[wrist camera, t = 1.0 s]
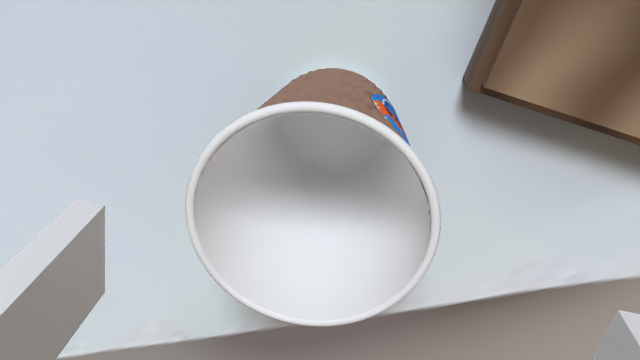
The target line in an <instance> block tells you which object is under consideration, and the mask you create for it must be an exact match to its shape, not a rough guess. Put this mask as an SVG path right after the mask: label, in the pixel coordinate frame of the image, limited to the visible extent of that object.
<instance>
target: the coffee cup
mask: <svg viewBox="0 0 640 360" xmlns="http://www.w3.org/2000/svg"><path fill="white" fill-rule="evenodd" d="M384 95H385V94H384ZM384 95H383V92H382V91H381V90H380V89H379V88H377V87H376V85H375V84H374V83H372V82H371V81H369V80H368V79H367V78H365V77H364V76H362V75H360V74H357V73H355V72H353V71H349V70H345V69H340V68H326V69H318V70H316V71H313V72H312V71H310V72H308V73H307V74H304V75H300V76H299V77H298V78H296V79H294V80H292V81H291V82H290V83H289V84H287V85H286V86H285V87H284V88H282V89H281V90H280V91H279V92H278V93H277V94H275V95H274V96H273V97H271V98H270V99H269V100H268V101H267V102H265V103H264V104H263V105H262V106H261V107H259V108H258V109H257V110H255V111H253V112H250V113H248V114H246V115H244V116H242V117H240V118H238V119H237V120H235V121H234V122H232V123H231V124H229V125H228V126H226V127H225V128H224V129H223V130H221V131H220V132H219V133H218V134H217V135H216V136H215V137H214V138H213V139H212V140H211V141H210V142H209V143H208V145H207V146H206V147H205V149H204V150H203V151H202V153H201V154H200V156H199V158H198V160H197V161H196V163H195V165H194V168H193V170H192V173H191V175H190V179H189V182H188V186H187V192H186V203H185V210H186V221H187V227H188V231H189V235H190V239H191V241H192V244H193V247H194V249H195V251H196V253H197V255H198V257H199V259H200V261H201V263H202V264H203V266H204V267H205V269H206V270H207V272H208V273H209V274H210V275H211V277H212V278H213V279H214V280H215V281H216V282H217V283H218V284H219V285H220V286H221V287H222V288H223V289H224V290H225V291H226V292H227V293H228V294H230V295H231V296H232V297H233V298H235V299H236V300H238V301H239V302H240V303H242V304H244V305H245V306H247V307H249V308H250V309H252V310H254V311H256V312H258V313H260V314H263V315H265V316H267V317H270V318H273V319H276V320H279V321H283V322H286V323H291V324H296V325H303V326H316V327H323V326H324V327H326V326H339V325H345V324H351V323H355V322H358V321H362V320H365V319H368V318H370V317H373V316H375V315H378V314H380V313H382V312H384V311H385V310H387V309H389V308H391V307H392V306H394V305H395V304H396V303H398V302H399V301H400V300H402V299H403V298H404V297H405V296H406V295H408V294H409V293H410V292H411V291H412V290H413V288H414V287H415V286H416V285H417V284H418V283H419V281H420V280H421V279H422V277H423V276H424V274H425V273H426V271H427V270H428V268H429V266H430V264H431V262H432V260H433V257H434V255H435V252H436V249H437V245H438V242H439V236H440V228H441V214H440V205H439V200H438V195H437V192H436V189H435V186H434V183H433V181H432V178H431V176H430V174H429V172H428V170H427V169H426V167H425V165H424V164H423V162H422V161H421V159H420V158H419V156H418V155H417V154H416V153H415V151H414V150H413V149H412V148H411V146H410V144H409V142H408V139H407V137H406V135H405V132H404V130H403V128H402V126H401V123H400V121H399V119H398V116H397V114H396V112H395V110H394V108H393V106H392V105H391V103H390V102H389V101H388V99H387V97H386V96H384ZM208 161H209V163H208ZM207 163H208V164H207ZM206 165H207V166H206ZM205 166H206V167H205ZM204 168H205V169H204ZM201 175H202V176H201ZM200 177H201V179H200ZM199 180H200V182H199ZM198 183H199V184H198ZM195 199H196V200H195ZM428 203H429V207H428ZM429 209H430V211H429ZM429 231H430V235H429Z"/></svg>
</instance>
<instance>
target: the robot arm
mask: <svg viewBox="0 0 640 360" xmlns="http://www.w3.org/2000/svg"><path fill="white" fill-rule="evenodd" d="M104 292H105V206H104V205H99V204H94V203H89V202H84V201H79V200H74V201H73V202H72V203H71V204H70V205H69V206H68V207H67V208H65V209H64V210H63V211H62V212H61V213H60V214H59V215H58V216H57V217H56V218H55V219H54V220H53V221H52V222H51V223H49V224H48V225H47V226H46V227H45V228H44V229H43V230H42V231H41V232H40V233H39V234H38V235H37V236H36V237H34V238H33V239H32V240H31V241H30V242H29V243H28V244H27V245H26V246H25V247H24V248H23V249H22V250H21V251H19V252H18V253H17V254H16V255H15V256H14V257H13V258H12V259H11V260H10V261H9V262H8V263H7V264H6V265H4V266H3V267H2V268H1V269H0V360H55V359H56V358H57V357H58V355H59V354H60V352H61V351H62V350H63V348H64V347H65V346H66V344H67V343H68V342H69V340H70V339H71V337H72V336H73V335H74V333H75V332H76V331H77V329H78V328H79V326H80V325H81V324H82V322H83V321H84V320H85V318H86V317H87V316H88V314H89V313H90V311H91V310H92V309H93V307H94V306H95V305H96V303H97V302H98V300H99V299H100V298H101V296H102V295H103V294H104ZM592 360H640V314H635V313H630V312H625V311H620V310H618V311H617V313H616V315H615V317H614V319H613V321H612V323H611V325H610V327H609V328H608V330H607V332H606V334H605V336H604V338H603V340H602V342H601V343H600V346H599V347H598V349H597V351H596V353H595V355H594V357H593V359H592Z"/></svg>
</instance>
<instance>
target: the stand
mask: <svg viewBox="0 0 640 360" xmlns="http://www.w3.org/2000/svg"><path fill="white" fill-rule="evenodd" d="M463 79H464V81H465V83H466V85H467V87H468V89H471V90H474V91H477V92H480V93H483V94H486V95H489V96H492V97H495V98H498V99H501V100H504V101H507V102H510V103H513V104H516V105H519V106H522V107H525V108H528V109H531V110H535V111H538V112H541V113H544V114H547V115H550V116H553V117H556V118H559V119H562V120H565V121H568V122H571V123H574V124H577V125H580V126H583V127H586V128H589V129H592V130H595V131H598V132H602V133H605V134H608V135H611V136H614V137H617V138H620V139H623V140H626V141H629V142H632V143H635V144H638V145H640V0H496V2H495V4H494V6H493V9H492V11H491V13H490V16H489V18H488V20H487V23H486V25H485V27H484V30H483V32H482V34H481V37H480V39H479V41H478V44H477V46H476V48H475V51H474V53H473V55H472V57H471V60H470V62H469V64H468V67H467V69H466V71H465V74H464V76H463Z"/></svg>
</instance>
